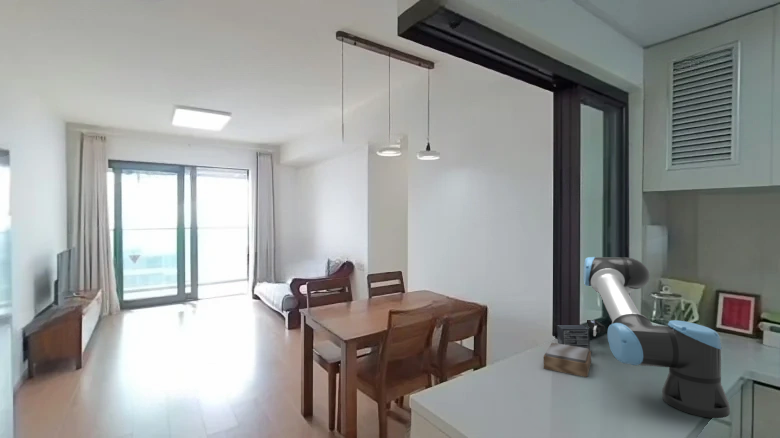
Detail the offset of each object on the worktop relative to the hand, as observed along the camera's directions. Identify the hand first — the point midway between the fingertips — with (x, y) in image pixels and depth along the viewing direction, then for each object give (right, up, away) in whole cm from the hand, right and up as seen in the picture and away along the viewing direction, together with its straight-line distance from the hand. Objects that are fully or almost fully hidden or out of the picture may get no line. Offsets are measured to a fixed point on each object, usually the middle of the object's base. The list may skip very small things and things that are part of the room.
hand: (576, 330), depth 156 cm
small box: (-5, -7, -8) cm, 12 cm away
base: (-14, -7, -21) cm, 26 cm away
